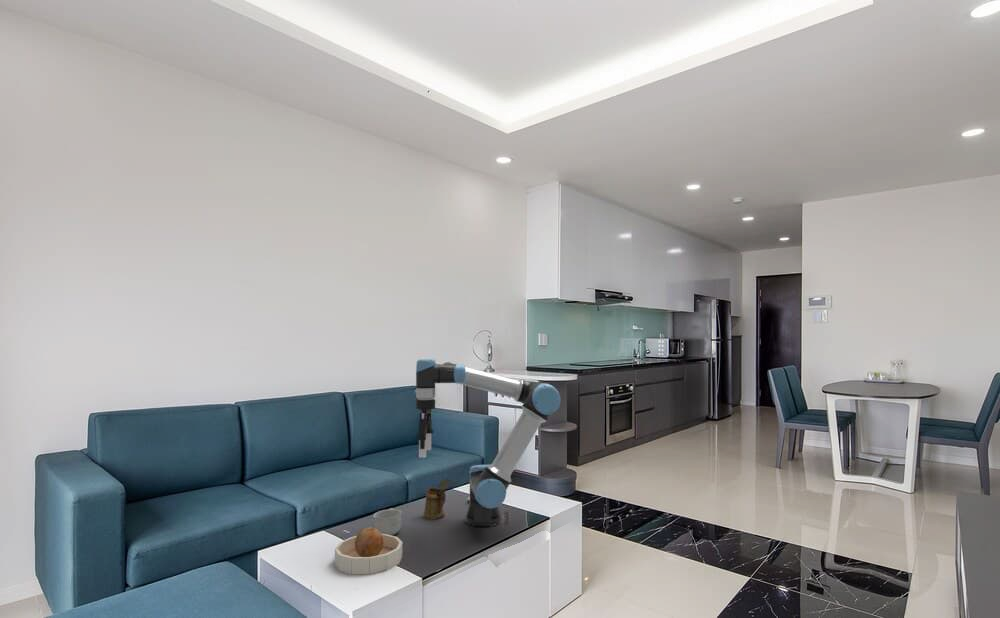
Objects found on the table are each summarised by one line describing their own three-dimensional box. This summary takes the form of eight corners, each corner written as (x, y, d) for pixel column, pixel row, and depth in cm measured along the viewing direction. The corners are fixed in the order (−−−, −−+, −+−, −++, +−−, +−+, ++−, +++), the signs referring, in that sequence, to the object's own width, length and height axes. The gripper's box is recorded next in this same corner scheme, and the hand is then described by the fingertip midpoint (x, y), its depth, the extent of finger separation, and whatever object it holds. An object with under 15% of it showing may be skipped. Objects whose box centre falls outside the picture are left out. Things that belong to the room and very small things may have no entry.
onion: (385, 551, 188) (385, 522, 189) (380, 562, 178) (381, 532, 179) (358, 551, 188) (358, 523, 188) (351, 563, 178) (352, 533, 179)
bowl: (406, 547, 194) (406, 533, 194) (394, 574, 172) (394, 558, 172) (346, 547, 194) (346, 533, 194) (326, 574, 172) (326, 558, 172)
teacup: (394, 539, 202) (395, 518, 203) (368, 537, 204) (368, 516, 205) (408, 527, 216) (408, 507, 216) (383, 525, 218) (383, 505, 218)
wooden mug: (440, 523, 220) (440, 479, 221) (419, 516, 229) (419, 474, 230) (455, 517, 227) (456, 475, 228) (434, 511, 236) (434, 470, 237)
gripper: (421, 395, 221) (420, 447, 219) (410, 402, 196) (409, 460, 194) (439, 395, 221) (438, 447, 219) (430, 402, 196) (430, 460, 194)
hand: (425, 453), depth 207 cm, fingers open, 13 cm apart
